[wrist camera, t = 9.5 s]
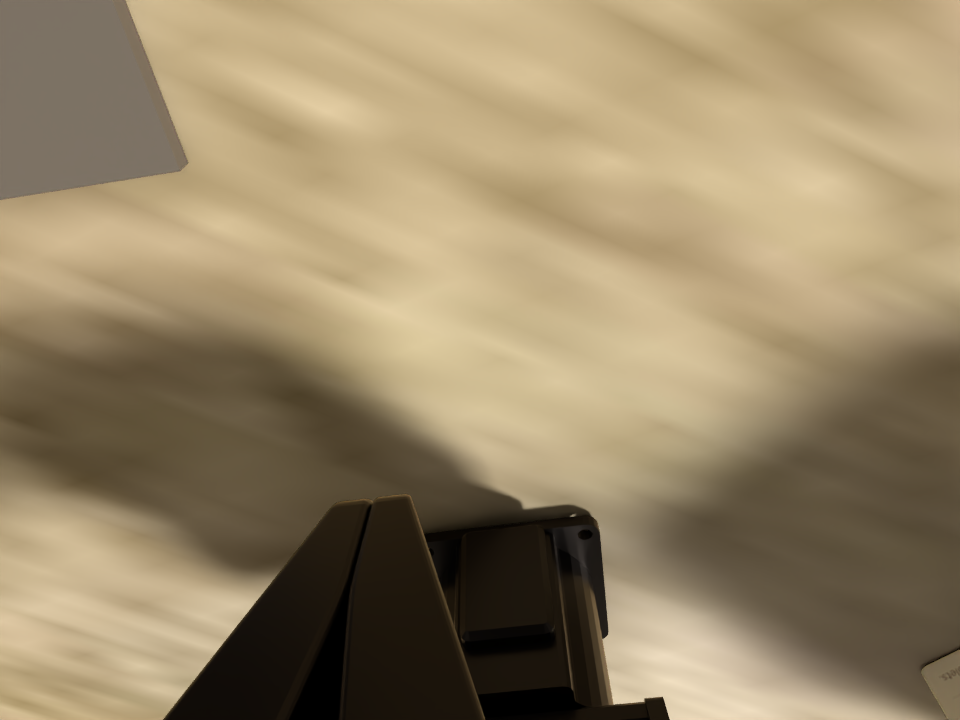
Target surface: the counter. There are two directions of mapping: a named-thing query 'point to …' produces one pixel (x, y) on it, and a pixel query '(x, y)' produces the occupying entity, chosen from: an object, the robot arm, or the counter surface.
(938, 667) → the supplement box
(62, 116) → the rubber mat
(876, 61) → the counter surface
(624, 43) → the counter surface
